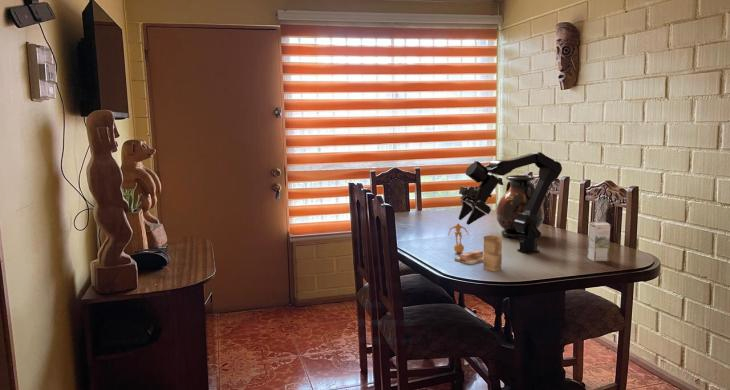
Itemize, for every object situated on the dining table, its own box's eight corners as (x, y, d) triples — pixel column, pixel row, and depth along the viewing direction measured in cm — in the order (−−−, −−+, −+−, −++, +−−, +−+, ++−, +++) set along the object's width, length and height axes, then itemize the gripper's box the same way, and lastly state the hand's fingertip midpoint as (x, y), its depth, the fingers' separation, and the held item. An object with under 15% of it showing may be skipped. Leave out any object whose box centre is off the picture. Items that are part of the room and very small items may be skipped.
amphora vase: (553, 238, 246) (555, 177, 243) (514, 242, 238) (515, 179, 235) (523, 230, 266) (524, 173, 262) (486, 233, 258) (487, 175, 255)
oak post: (491, 266, 199) (491, 234, 198) (501, 269, 196) (501, 236, 194) (483, 268, 196) (483, 236, 195) (493, 271, 193) (493, 238, 191)
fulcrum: (475, 255, 216) (475, 248, 216) (491, 259, 210) (491, 251, 210) (454, 260, 209) (454, 253, 208) (470, 264, 203) (470, 256, 202)
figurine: (449, 254, 219) (449, 225, 218) (447, 250, 225) (447, 222, 224) (470, 253, 219) (470, 224, 218) (467, 250, 225) (467, 222, 224)
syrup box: (601, 258, 209) (603, 221, 207) (609, 261, 203) (610, 223, 201) (587, 258, 209) (588, 221, 207) (594, 262, 203) (595, 224, 201)
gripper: (461, 174, 219) (440, 206, 220) (478, 180, 201) (454, 215, 201) (482, 189, 221) (461, 221, 222) (501, 196, 203) (477, 230, 204)
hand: (463, 221), depth 212 cm, fingers open, 9 cm apart
